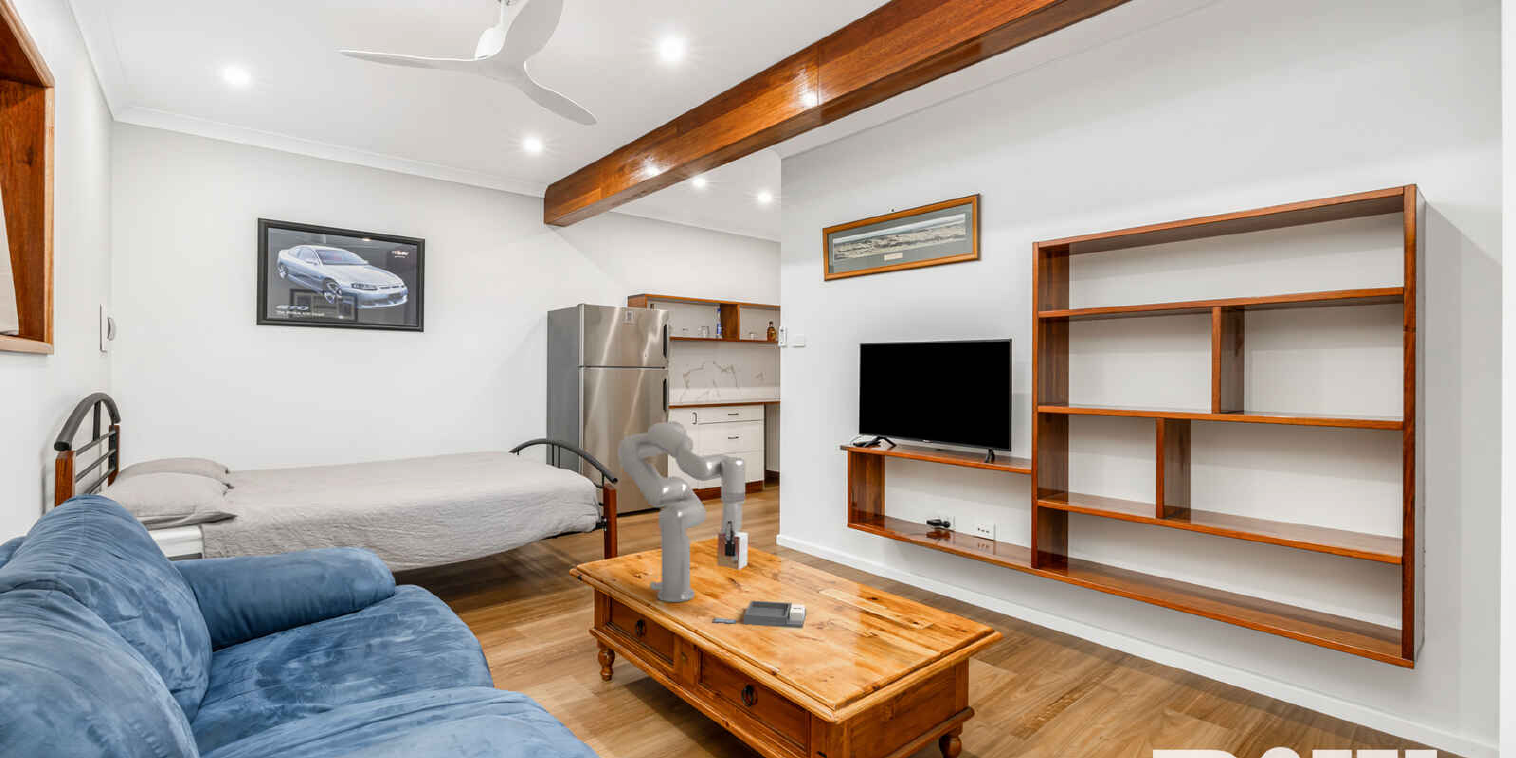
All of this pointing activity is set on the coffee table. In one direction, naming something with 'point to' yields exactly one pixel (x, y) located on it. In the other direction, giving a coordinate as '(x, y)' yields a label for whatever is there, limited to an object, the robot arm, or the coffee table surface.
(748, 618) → the grey tray
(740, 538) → the small box
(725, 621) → the phone
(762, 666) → the coffee table surface
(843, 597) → the coffee table surface
